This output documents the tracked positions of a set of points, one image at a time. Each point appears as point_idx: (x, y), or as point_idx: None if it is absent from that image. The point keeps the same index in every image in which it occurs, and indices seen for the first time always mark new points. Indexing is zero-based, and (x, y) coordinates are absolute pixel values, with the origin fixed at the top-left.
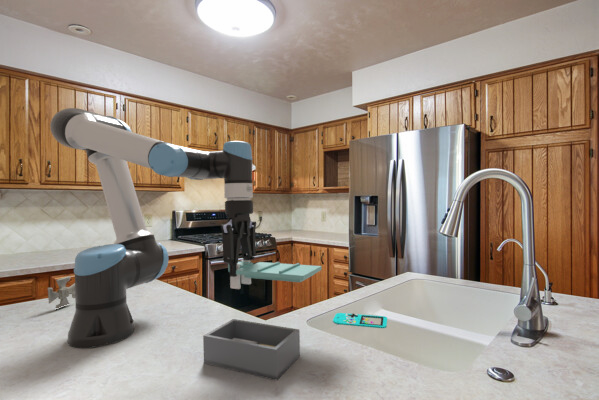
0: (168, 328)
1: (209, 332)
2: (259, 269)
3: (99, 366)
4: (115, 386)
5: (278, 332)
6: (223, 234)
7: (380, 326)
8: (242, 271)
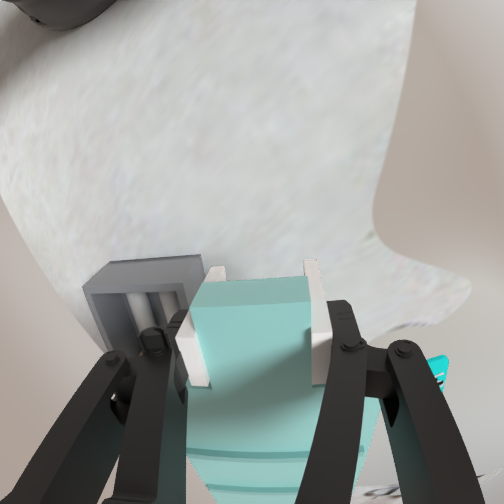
0: (178, 28)
1: (96, 287)
2: (191, 457)
3: (20, 114)
4: (15, 199)
5: None
6: (20, 493)
7: None
8: None
